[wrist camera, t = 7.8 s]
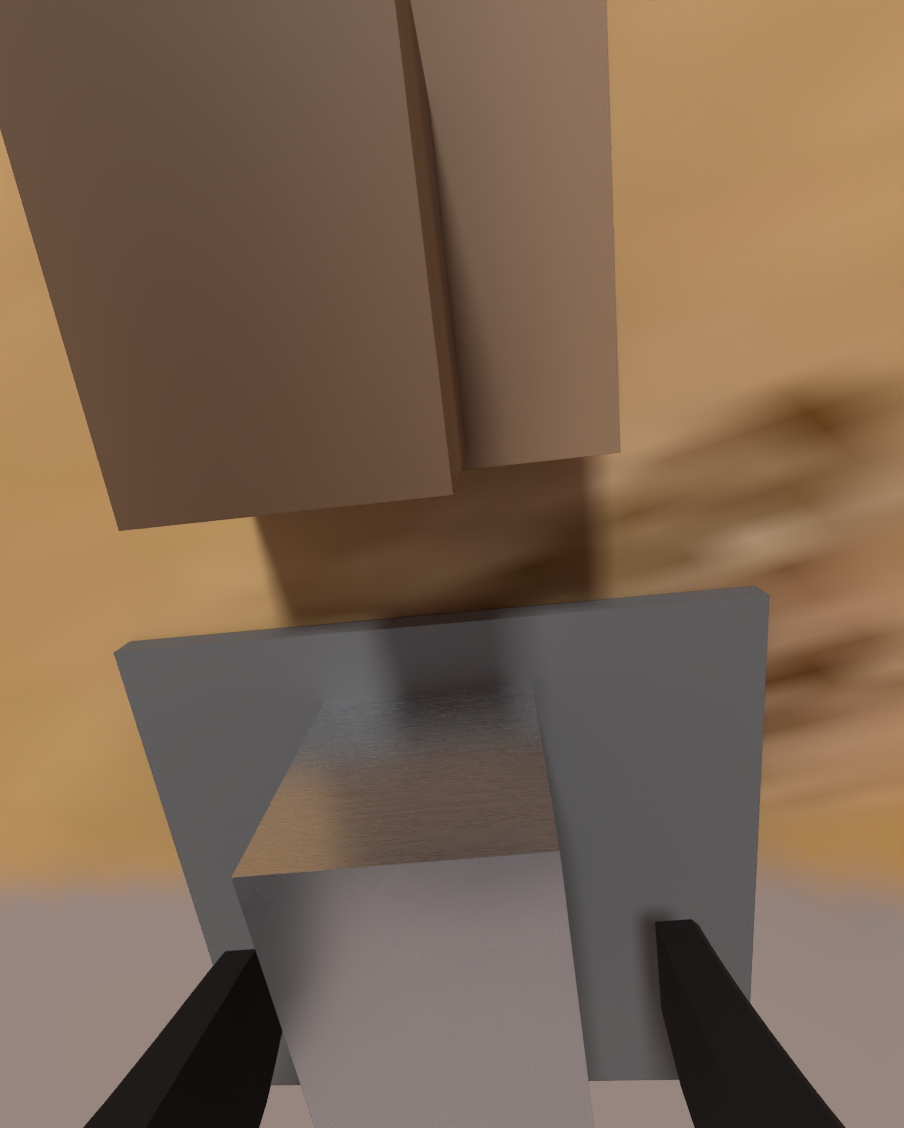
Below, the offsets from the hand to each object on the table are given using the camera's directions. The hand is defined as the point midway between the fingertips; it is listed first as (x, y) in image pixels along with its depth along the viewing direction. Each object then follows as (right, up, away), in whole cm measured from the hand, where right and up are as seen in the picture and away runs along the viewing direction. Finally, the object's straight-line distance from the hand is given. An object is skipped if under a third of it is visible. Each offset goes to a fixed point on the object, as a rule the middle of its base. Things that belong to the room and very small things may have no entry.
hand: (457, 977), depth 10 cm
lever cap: (0, +1, +2) cm, 2 cm away
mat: (0, +1, +2) cm, 2 cm away
